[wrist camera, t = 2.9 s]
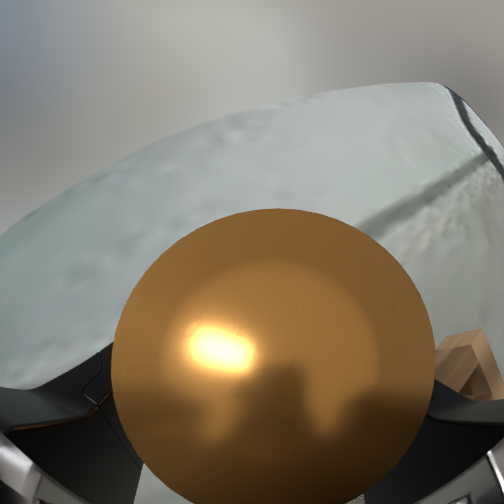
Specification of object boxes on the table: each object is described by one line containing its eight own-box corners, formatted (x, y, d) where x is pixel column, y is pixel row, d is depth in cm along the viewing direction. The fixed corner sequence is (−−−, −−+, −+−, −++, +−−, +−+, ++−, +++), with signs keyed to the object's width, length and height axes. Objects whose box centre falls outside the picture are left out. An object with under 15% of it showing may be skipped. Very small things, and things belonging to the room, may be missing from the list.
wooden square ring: (474, 393, 15) (506, 392, 11) (425, 453, 13) (457, 463, 9) (447, 336, 17) (481, 328, 13) (391, 398, 15) (425, 403, 11)
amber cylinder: (301, 370, 15) (469, 383, 3) (234, 413, 14) (239, 557, 2) (258, 306, 17) (321, 165, 4) (190, 346, 15) (63, 308, 3)
